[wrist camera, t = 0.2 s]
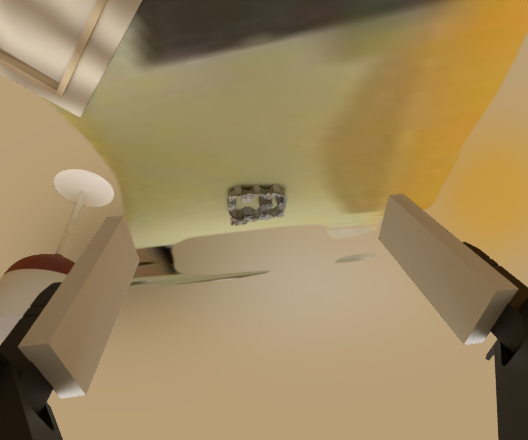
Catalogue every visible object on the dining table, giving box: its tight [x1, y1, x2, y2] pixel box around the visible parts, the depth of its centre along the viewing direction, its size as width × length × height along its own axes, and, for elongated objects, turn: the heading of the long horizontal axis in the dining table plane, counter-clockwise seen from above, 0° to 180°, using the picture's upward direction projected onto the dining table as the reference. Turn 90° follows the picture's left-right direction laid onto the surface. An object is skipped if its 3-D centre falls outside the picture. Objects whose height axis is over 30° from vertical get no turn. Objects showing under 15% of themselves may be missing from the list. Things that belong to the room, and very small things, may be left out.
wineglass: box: [0, 169, 114, 342], centre depth 38 cm, size 9×10×23 cm
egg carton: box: [228, 184, 287, 225], centre depth 51 cm, size 11×8×4 cm
